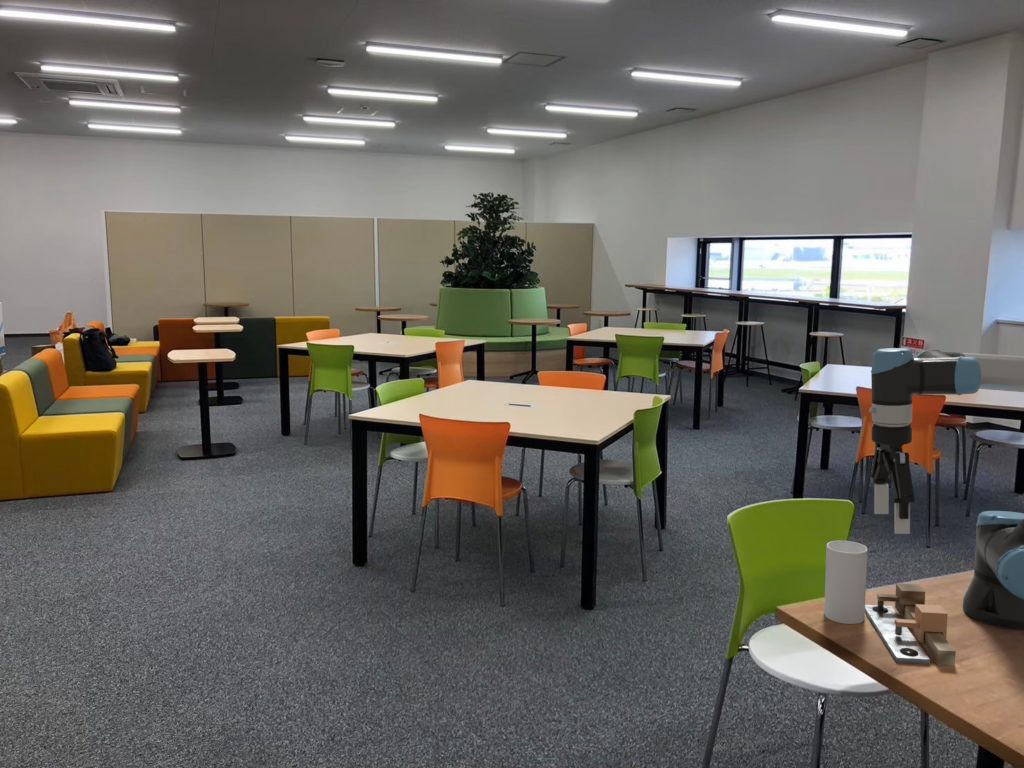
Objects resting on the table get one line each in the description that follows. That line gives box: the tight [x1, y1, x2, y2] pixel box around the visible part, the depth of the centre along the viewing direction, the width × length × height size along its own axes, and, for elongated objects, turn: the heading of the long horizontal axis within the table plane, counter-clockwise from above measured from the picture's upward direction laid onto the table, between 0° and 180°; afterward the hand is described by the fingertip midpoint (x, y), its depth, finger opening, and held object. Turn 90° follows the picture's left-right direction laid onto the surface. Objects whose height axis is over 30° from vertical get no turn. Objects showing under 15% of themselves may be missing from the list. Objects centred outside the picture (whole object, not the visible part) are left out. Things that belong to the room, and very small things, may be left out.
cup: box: [823, 540, 868, 625], centre depth 172 cm, size 8×8×16 cm
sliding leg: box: [895, 604, 948, 643], centre depth 160 cm, size 9×4×6 cm, turn 80°
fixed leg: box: [876, 583, 926, 616], centre depth 173 cm, size 9×4×6 cm, turn 80°
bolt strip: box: [865, 604, 931, 665], centre depth 164 cm, size 6×25×1 cm, turn 170°
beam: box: [901, 605, 957, 667], centre depth 163 cm, size 3×25×3 cm, turn 170°
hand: (891, 523), depth 164 cm, fingers open, 13 cm apart
